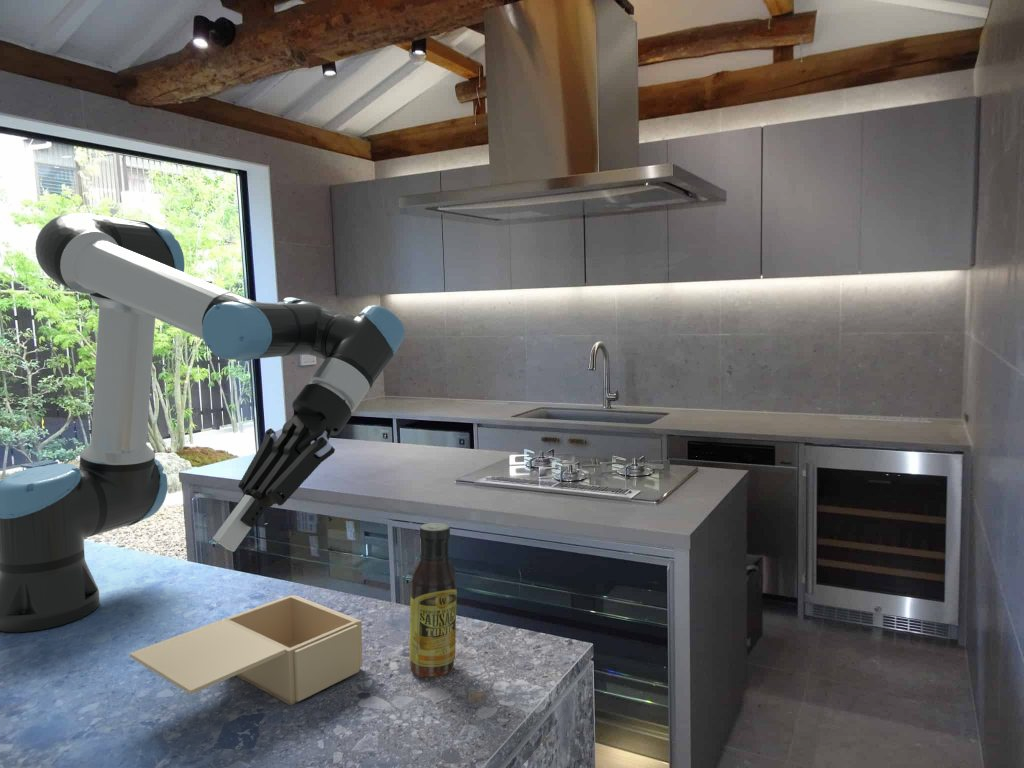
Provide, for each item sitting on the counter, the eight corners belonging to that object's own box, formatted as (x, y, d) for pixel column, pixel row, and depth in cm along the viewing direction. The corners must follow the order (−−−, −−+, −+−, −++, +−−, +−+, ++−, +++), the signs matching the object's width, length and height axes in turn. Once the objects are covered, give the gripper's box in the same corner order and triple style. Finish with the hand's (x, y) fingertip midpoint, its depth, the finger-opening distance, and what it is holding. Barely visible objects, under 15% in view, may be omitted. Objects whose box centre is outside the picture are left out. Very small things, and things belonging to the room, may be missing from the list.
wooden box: (222, 668, 99) (220, 618, 98) (294, 638, 108) (292, 592, 107) (293, 707, 89) (291, 652, 88) (366, 670, 98) (365, 620, 97)
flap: (221, 623, 97) (129, 657, 88) (221, 619, 97) (129, 653, 88) (285, 654, 88) (190, 695, 79) (285, 649, 88) (190, 690, 79)
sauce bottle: (418, 685, 94) (416, 536, 92) (403, 664, 99) (400, 523, 98) (464, 673, 97) (463, 529, 95) (447, 654, 102) (445, 517, 101)
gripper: (376, 419, 99) (273, 571, 87) (317, 411, 107) (216, 550, 95) (344, 383, 94) (231, 539, 83) (285, 378, 102) (174, 519, 91)
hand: (223, 545), depth 89 cm, fingers closed
